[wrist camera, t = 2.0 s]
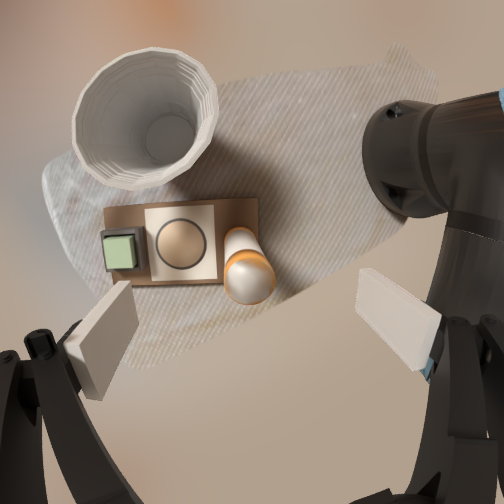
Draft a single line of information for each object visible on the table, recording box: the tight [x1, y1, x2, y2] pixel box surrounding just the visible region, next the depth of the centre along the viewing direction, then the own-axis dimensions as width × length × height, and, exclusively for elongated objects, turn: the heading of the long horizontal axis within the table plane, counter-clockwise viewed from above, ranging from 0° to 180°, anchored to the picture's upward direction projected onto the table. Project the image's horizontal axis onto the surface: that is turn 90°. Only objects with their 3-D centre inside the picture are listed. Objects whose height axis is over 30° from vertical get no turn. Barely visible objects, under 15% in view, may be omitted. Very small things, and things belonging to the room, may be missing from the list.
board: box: [100, 198, 259, 285], centre depth 28 cm, size 17×9×3 cm, turn 91°
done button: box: [103, 235, 138, 269], centre depth 26 cm, size 3×3×2 cm
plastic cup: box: [72, 47, 219, 191], centre depth 21 cm, size 11×11×12 cm
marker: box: [224, 226, 276, 305], centre depth 23 cm, size 3×3×12 cm
